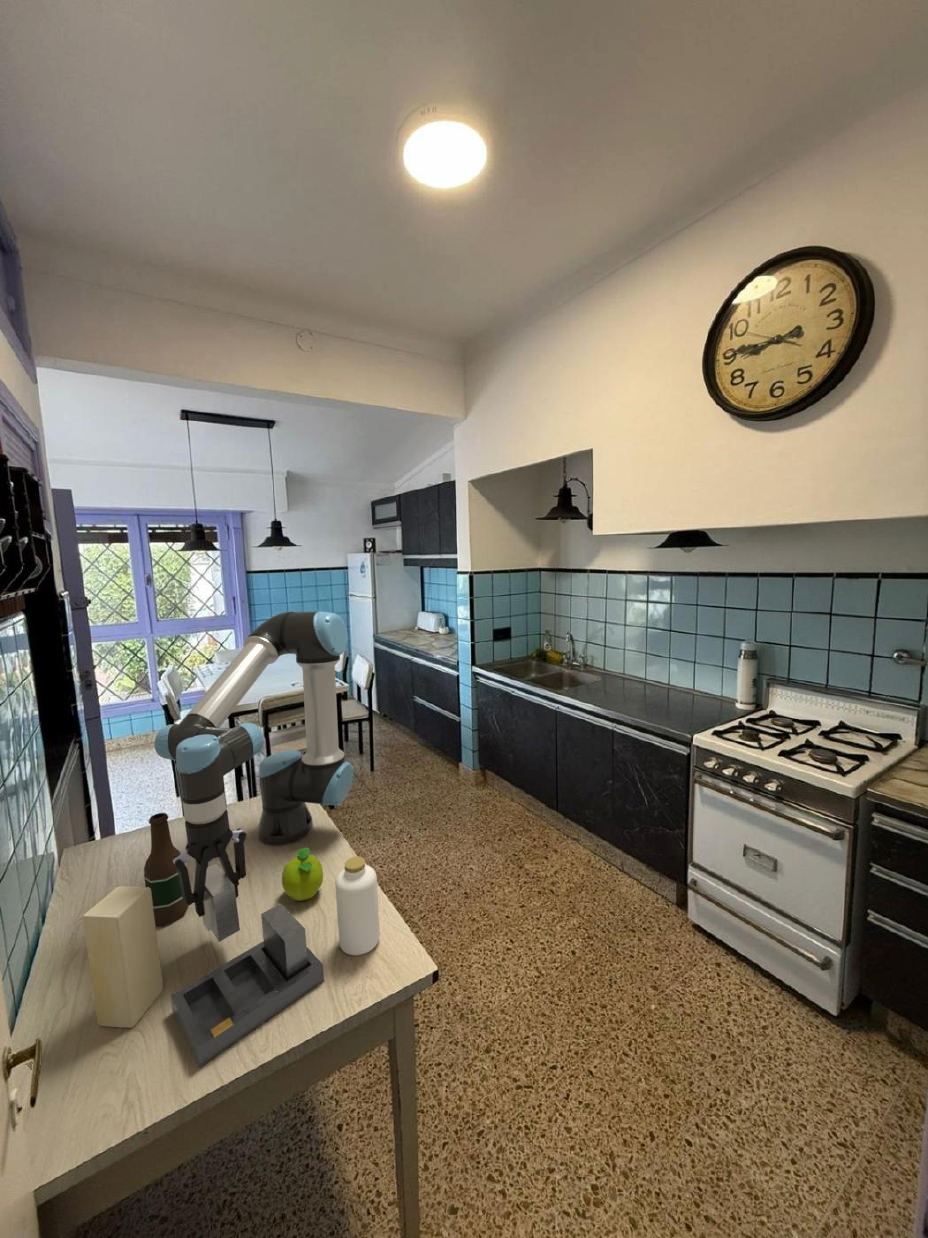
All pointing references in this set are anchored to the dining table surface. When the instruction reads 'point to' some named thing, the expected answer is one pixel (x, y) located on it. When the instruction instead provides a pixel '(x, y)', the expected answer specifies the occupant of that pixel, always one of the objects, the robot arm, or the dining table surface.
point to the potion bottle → (357, 907)
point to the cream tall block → (123, 956)
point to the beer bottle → (163, 874)
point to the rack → (247, 988)
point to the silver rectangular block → (221, 903)
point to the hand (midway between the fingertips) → (219, 919)
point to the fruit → (302, 876)
